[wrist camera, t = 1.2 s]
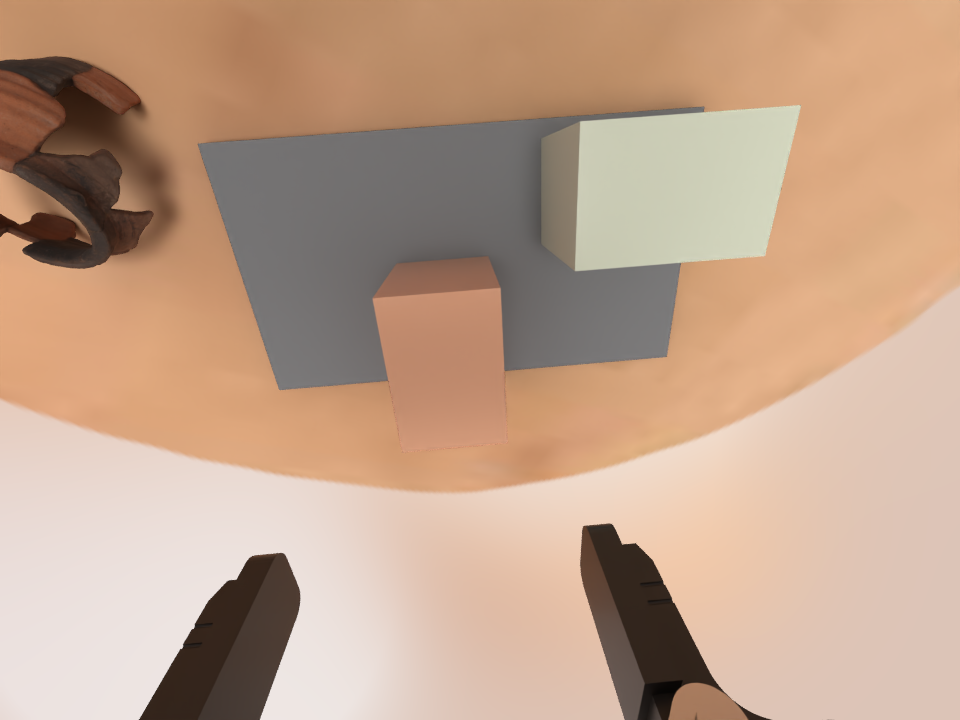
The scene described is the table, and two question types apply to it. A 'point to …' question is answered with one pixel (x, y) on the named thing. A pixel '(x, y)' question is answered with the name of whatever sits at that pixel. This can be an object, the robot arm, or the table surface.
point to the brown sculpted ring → (64, 163)
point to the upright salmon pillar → (444, 353)
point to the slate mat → (419, 245)
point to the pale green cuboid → (664, 187)
